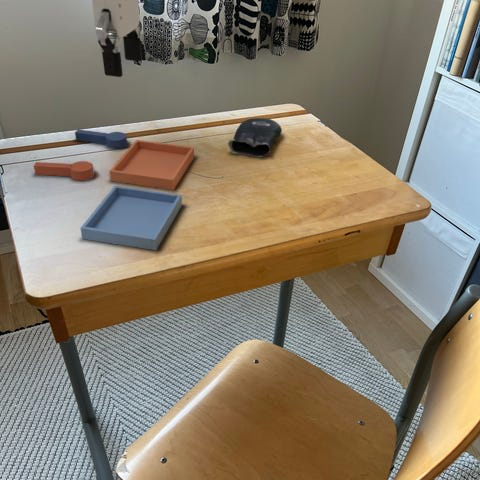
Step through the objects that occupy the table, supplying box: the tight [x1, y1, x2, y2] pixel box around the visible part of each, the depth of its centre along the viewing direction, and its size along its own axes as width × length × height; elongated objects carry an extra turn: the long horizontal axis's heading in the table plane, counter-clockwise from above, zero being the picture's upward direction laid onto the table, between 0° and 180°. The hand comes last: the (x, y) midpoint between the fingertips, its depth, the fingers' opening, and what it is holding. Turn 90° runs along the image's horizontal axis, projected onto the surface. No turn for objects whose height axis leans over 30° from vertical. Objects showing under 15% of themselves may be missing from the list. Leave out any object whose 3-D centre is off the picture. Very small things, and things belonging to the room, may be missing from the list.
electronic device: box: [227, 117, 283, 158], centre depth 109 cm, size 9×6×15 cm
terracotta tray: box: [108, 139, 195, 191], centre depth 99 cm, size 12×14×2 cm
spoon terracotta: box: [33, 160, 95, 181], centre depth 96 cm, size 11×4×2 cm, turn 88°
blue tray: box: [79, 185, 183, 251], centre depth 85 cm, size 12×14×2 cm
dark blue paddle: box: [74, 129, 128, 150], centre depth 106 cm, size 11×4×2 cm, turn 78°
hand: (124, 67), depth 96 cm, fingers open, 9 cm apart
